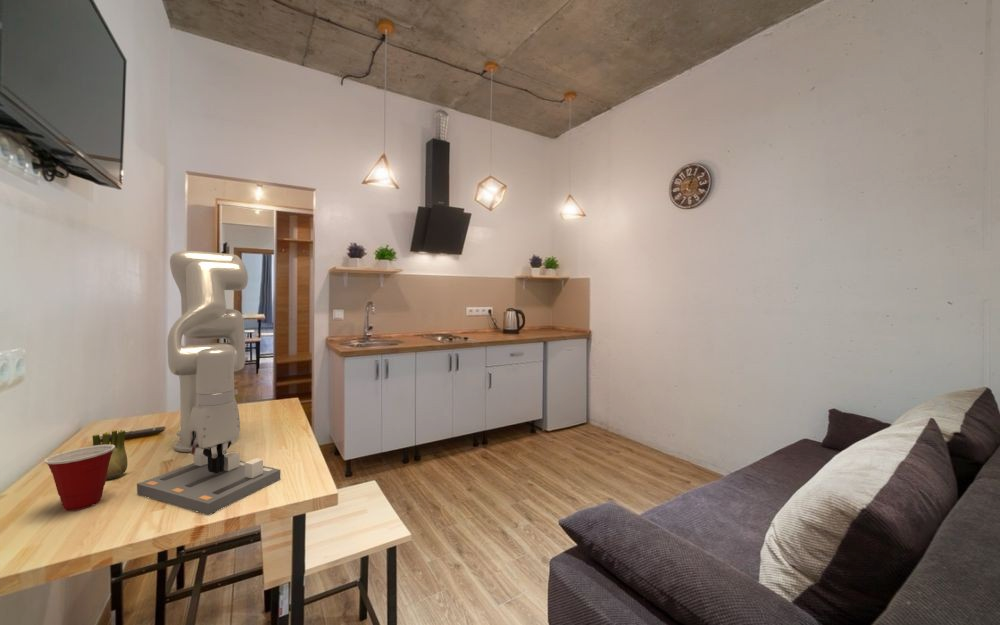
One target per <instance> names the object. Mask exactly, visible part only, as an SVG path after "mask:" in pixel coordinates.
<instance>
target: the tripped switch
mask: <svg viewBox="0 0 1000 625" xmlns="http://www.w3.org/2000/svg"><path fill="white" fill-rule="evenodd" d="M240 461H241V460H240V453H239V452H236V451H232V452H227V453H226V454H225V455H224V470H225V471H230V470H232V469H235V468H237V467H239V466H240Z"/></svg>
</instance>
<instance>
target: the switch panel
mask: <svg viewBox="0 0 1000 625" xmlns="http://www.w3.org/2000/svg"><path fill="white" fill-rule="evenodd" d="M245 462H246V461H242V460H240V466H239V467H237V468H235V469H232V470H230V471H225V470H224V471H222V472H219V473H212V472H209V470H208V464H206V465H203V466H197V465H194V462H193V463H190V464H188V465H184V466H182V467H179V468H177V469H174V470H171V471H168V472H166V473H163V474H160V475H157V476H155V477H153V478H150V479H146V480H144V481H141V482H138V483H137V484H136V494H137V495H139V496H141V495H142V497H145V496H146V497H145V498H148V497H149V499H153V500H156V501H159V502H162V503H166V504H170V505H172V506H176V507H179V508H183V509H187V510H190V511H194V512H196V511H198V512H197V513H200V512H201V513H200V514H203V513H204V514H203V515H206V514H207V516H210V515H211V513H212V514H214V513H216V512H218V511H219V509H220V510H221V508H222V509H223V507H224V508H225V506H226V507H228V506H229V504H230V505H232V504H234V503H236V502H238V501H240V500H242V499H244V498H245V497H247V496H251V495H252V494H254V493H256V492H257V491H260V490H262V489H263V488H264V489H265V487H267V486H269V485H271V484H274V483H276V482H278V481H279V480H281V469H280V468H274V467H269V466H265V465H263V474H260V475H258V476H256V477H254V478H248V477H245ZM233 502H234V503H233ZM231 503H232V504H231ZM227 505H228V506H227ZM217 510H218V511H217ZM215 511H216V512H215ZM213 512H214V513H213ZM209 514H210V515H209Z"/></svg>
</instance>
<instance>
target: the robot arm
mask: <svg viewBox="0 0 1000 625" xmlns="http://www.w3.org/2000/svg"><path fill="white" fill-rule="evenodd" d="M169 266H170V271H171V275H172V277H173V280H174V282H175V284H176V286H177V288H178V290H179V294H180V304H181V305H180V306H181V308H180V309H181V313H180V314H181V316H179V318H178V319H177V320H176V321H175V322H174V323H173V324H172V326H171V328H170V330H169V333H168V336H167V364H168V369H169V370H170V373H172V374H173V375H175V376H179V377H178V378H179V395H180V396H179V398H180V399H179V401H180V430H179V431H176V433H175V435H176V436H179V441H177V442H176V443H174V444H173V450H174V451H175V452H180V453H190V452H191V453H190V454H192V455H201V454H203V455H205V456H206V457H208V470H209V472H212V473H219V472H222V471H224V455H226V454H228V450H229V448H230V447H231V446H232V445H233V444H235V443H236V442H238V441H239V439H240V438H239V436H240V434H241V420H240V419H241V417H240V411H239V406H238V403H237V400H234V395H235V396H236V395H238V393H239V390H238V389H237V388H236V389H235V372H238V371H240V370H242V369H243V368H244V367H245V364H246V336H245V334H246V332H245V321H244V319H245V318H244V316H243V314H242V312H240V311H239V310H237V309H233V308H227V303H226V302H227V301H226V295H225V292H226V291H243V290H245V289H246V287H247V285H248V282H249V277H248V276H249V275H248V270H247V268H246V265H245V263H244V262H243V260H242V259H241V258H240V257H239V255H236V254H232V253H223V252H222V253H221V252H210V251H200V250H198V251H197V250H180V251H176V252H174V253H172V254H171V256H170V258H169ZM183 336H184V337H185V338H187V339H190V340H214V339H215V340H216V339H218V340H219V339H220V340H221V339H225V340H226V341H227V342H210V343H193V344H188V345H183V344H182V339H183ZM234 389H235V390H234Z"/></svg>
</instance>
